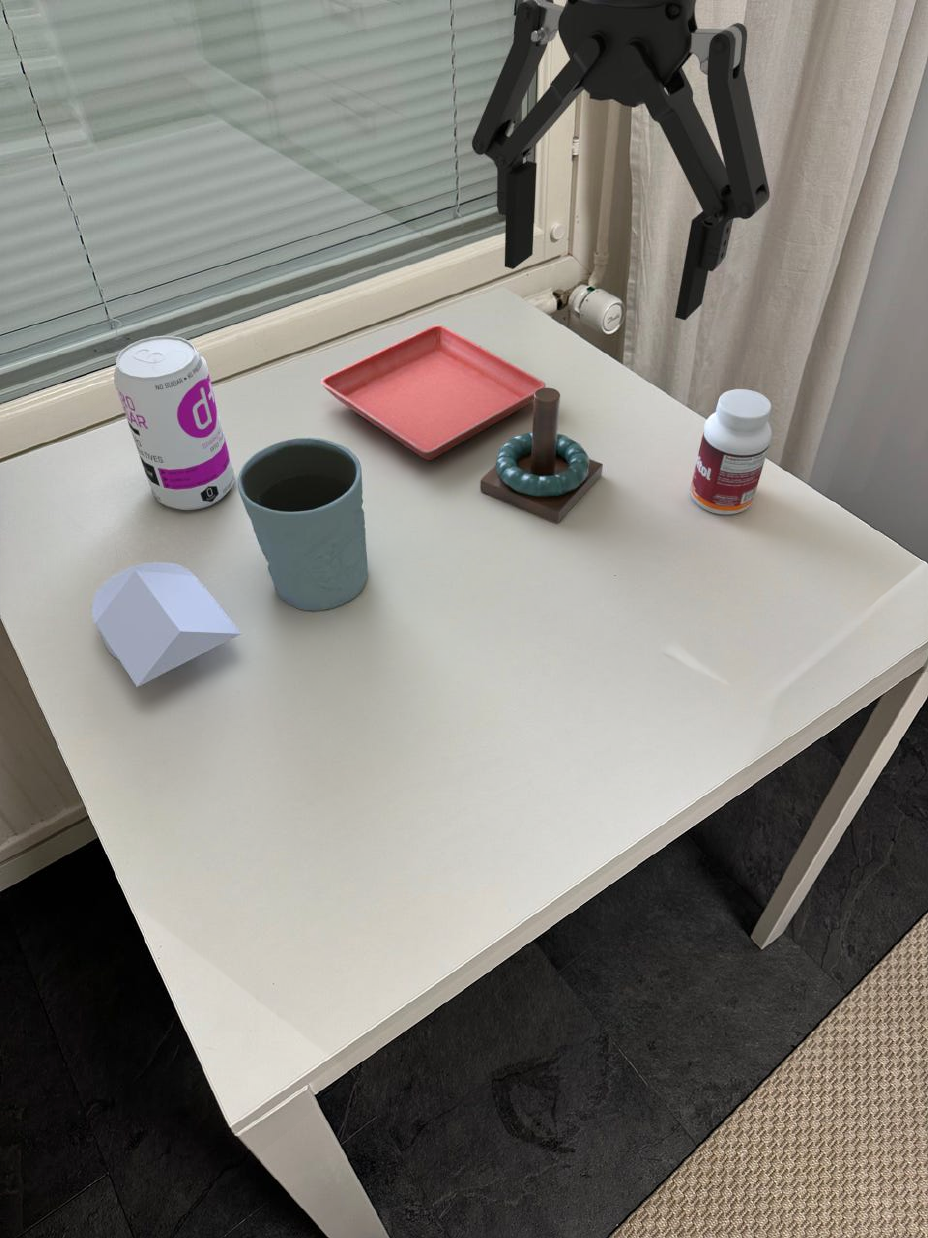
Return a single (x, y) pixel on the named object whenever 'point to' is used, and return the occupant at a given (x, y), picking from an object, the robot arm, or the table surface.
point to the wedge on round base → (158, 619)
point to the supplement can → (174, 421)
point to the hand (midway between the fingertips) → (599, 285)
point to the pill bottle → (732, 452)
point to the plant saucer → (433, 390)
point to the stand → (542, 464)
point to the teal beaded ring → (542, 484)
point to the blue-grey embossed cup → (308, 520)
